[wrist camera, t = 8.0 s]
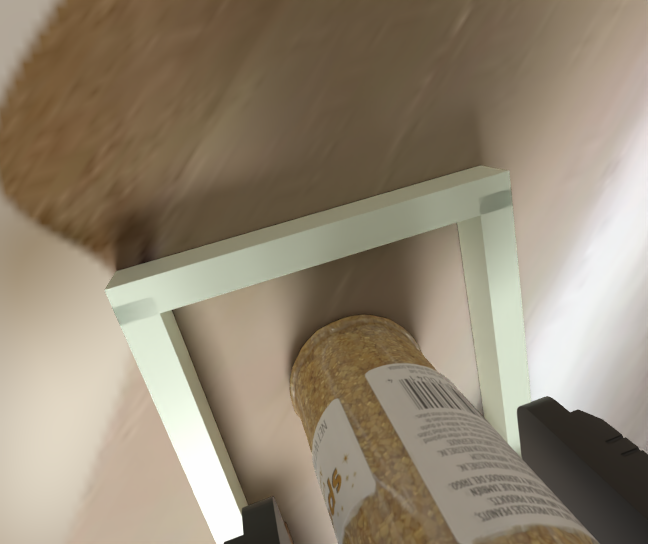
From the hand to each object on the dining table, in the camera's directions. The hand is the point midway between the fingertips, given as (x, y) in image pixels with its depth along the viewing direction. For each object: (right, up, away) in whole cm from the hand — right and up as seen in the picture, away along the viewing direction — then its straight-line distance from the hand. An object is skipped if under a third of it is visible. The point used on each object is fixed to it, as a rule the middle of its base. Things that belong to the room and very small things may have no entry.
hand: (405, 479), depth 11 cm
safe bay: (-1, +1, +4) cm, 5 cm away
